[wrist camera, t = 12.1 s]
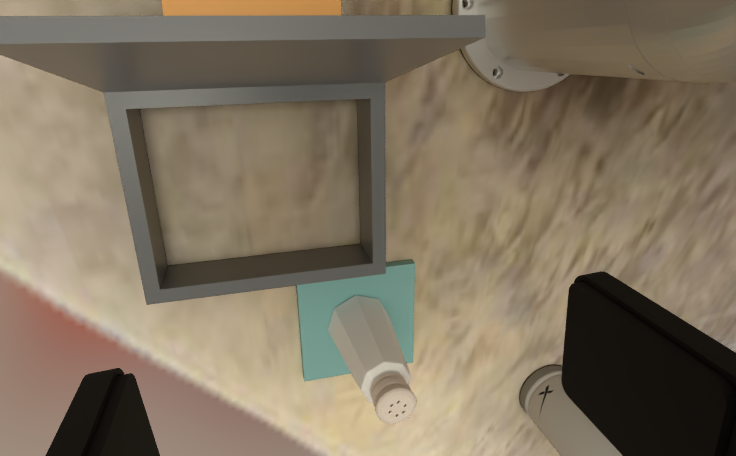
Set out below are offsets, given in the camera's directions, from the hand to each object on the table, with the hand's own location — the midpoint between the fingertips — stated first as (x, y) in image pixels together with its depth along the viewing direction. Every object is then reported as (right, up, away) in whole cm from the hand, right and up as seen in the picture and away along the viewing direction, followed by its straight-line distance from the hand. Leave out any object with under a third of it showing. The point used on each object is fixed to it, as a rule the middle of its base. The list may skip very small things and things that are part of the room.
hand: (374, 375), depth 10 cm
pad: (-1, -5, +32) cm, 32 cm away
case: (-8, +7, +26) cm, 28 cm away
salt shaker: (-1, -5, +31) cm, 32 cm away
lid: (-6, +11, +13) cm, 18 cm away
